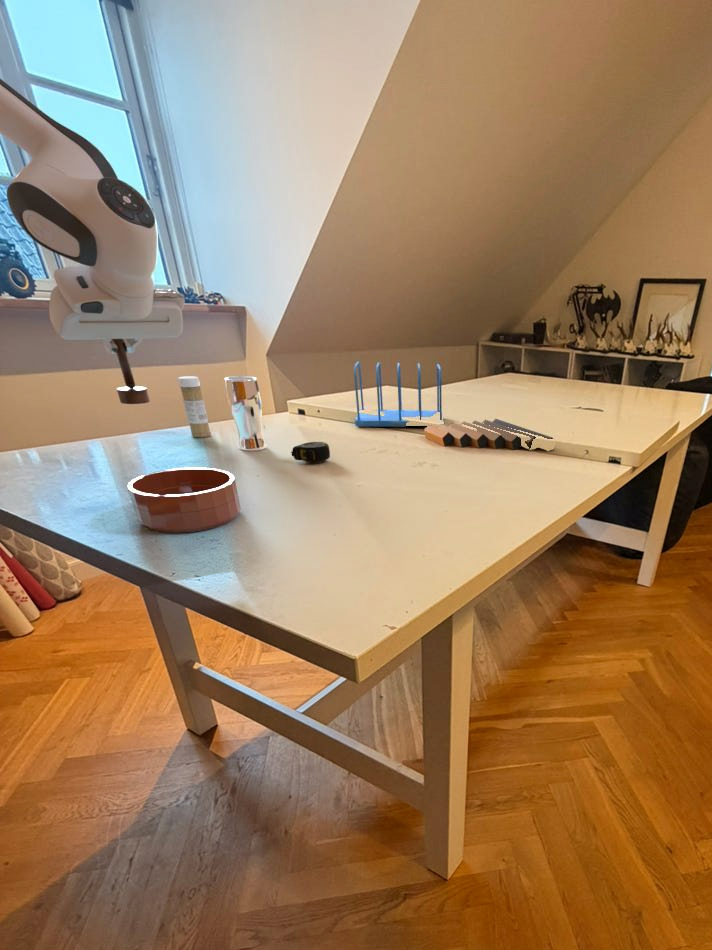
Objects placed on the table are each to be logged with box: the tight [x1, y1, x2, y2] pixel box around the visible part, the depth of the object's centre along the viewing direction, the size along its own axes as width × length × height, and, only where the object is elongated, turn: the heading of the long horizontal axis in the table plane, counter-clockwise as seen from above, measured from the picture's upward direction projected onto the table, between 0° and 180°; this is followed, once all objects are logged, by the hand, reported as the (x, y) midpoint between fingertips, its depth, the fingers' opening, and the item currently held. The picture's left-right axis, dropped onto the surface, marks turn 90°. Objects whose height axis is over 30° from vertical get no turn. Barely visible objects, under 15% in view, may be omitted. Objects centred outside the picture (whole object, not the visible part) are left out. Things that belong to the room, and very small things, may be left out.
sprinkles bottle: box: [177, 375, 212, 438], centre depth 132 cm, size 5×5×14 cm
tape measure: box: [290, 441, 331, 463], centre depth 119 cm, size 7×7×4 cm
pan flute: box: [423, 418, 554, 451], centre depth 140 cm, size 25×3×25 cm
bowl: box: [127, 467, 242, 534], centre depth 87 cm, size 15×15×6 cm
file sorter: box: [353, 361, 443, 428], centre depth 155 cm, size 25×17×15 cm
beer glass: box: [224, 375, 268, 452], centre depth 124 cm, size 7×7×15 cm
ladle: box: [113, 339, 151, 405], centre depth 100 cm, size 5×5×16 cm
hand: (119, 350), depth 100 cm, fingers closed on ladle
